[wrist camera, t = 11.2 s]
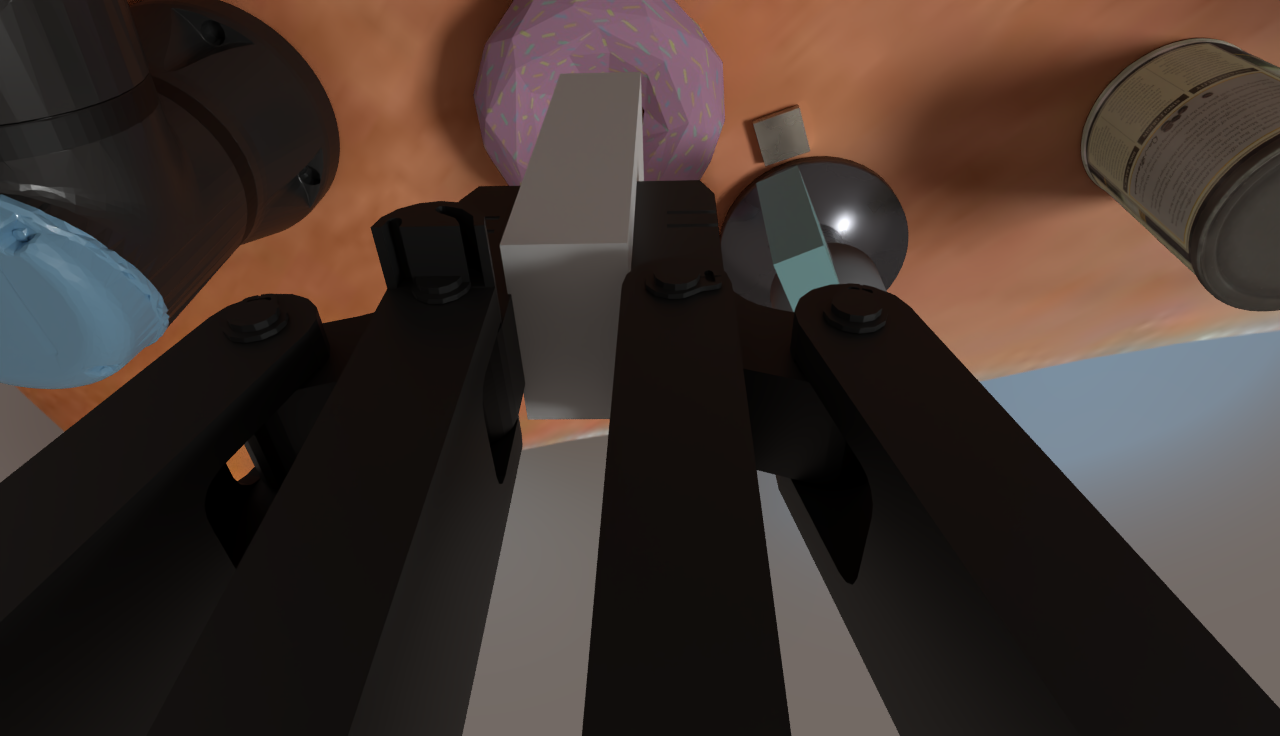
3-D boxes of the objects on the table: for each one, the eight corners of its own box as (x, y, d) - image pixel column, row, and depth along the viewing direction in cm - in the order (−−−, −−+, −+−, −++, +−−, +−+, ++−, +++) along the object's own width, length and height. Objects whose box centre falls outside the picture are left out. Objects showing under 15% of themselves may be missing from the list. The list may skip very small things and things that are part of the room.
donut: (577, -99, 42) (567, -87, 38) (774, 80, 47) (783, 107, 43) (438, 116, 49) (418, 145, 45) (622, 248, 55) (618, 284, 51)
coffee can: (1291, 34, 44) (1498, 118, 33) (1212, 196, 51) (1364, 313, 40) (1112, 35, 45) (1258, 119, 34) (1056, 197, 51) (1164, 312, 40)
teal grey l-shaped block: (892, 312, 50) (941, 431, 41) (790, 348, 52) (815, 468, 43) (830, 131, 42) (874, 225, 33) (715, 180, 44) (726, 282, 35)
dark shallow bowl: (747, 338, 59) (753, 386, 54) (678, 146, 50) (679, 184, 45) (916, 291, 56) (939, 337, 51) (877, 76, 47) (901, 110, 42)
